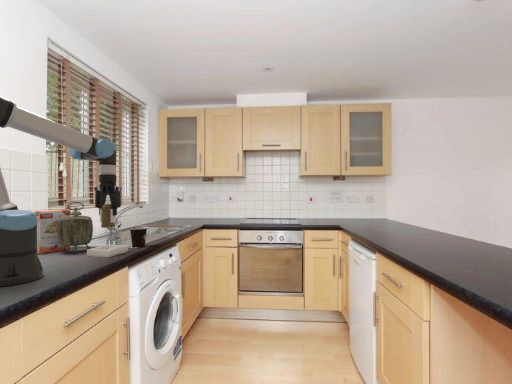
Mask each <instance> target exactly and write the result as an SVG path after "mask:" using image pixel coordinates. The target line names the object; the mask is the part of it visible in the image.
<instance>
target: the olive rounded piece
mask: <svg viewBox="0 0 512 384" xmlns="http://www.w3.org/2000/svg"><path fill="white" fill-rule="evenodd" d="M111 208H112V206H111V203H105V205H103V206H102V210H103V217H102V222H101V223H100V228H103V229H104V228H105V229H106V228H109V229H110V228H115V227H116V224H115V223H116V222H113V223H111V221H110V209H111Z"/></svg>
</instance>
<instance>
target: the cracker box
mask: <svg viewBox="0 0 512 384" xmlns="http://www.w3.org/2000/svg"><path fill="white" fill-rule="evenodd" d="M71 212H72V210H70V209H47V210H34V213H35V214H36V216H37V221H38V223H37V255H42V254H47V253H48V254H49V253H55V252H62V249H64V247H65V246H62V245H60V244H59V241H58V235H57V230H58V223H59V221H60V219H62V218H64V217H68V216H70V214H71ZM68 250H71V246H67V247H66V251H68Z"/></svg>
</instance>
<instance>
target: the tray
mask: <svg viewBox="0 0 512 384" xmlns="http://www.w3.org/2000/svg"><path fill="white" fill-rule="evenodd" d="M128 252H129V245H128V244H127V245H123V244H104V245H100V246H98V247H96V246H95V247H92V248H90V249H86V257H92V258H93V257H97V258H111V257H114V256H118V255H121V254H125V253H128Z"/></svg>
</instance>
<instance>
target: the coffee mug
mask: <svg viewBox="0 0 512 384" xmlns="http://www.w3.org/2000/svg"><path fill="white" fill-rule="evenodd" d="M129 230H130V238H131V239H130V241H131V247H132V248H133V249H136V248H135V247H141V248H144V247H143V246H145V247H146V243H147V242H146V240H147V234H148V233H147V232H148V228H147V227H139V226H138V227H131V228H129Z"/></svg>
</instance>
